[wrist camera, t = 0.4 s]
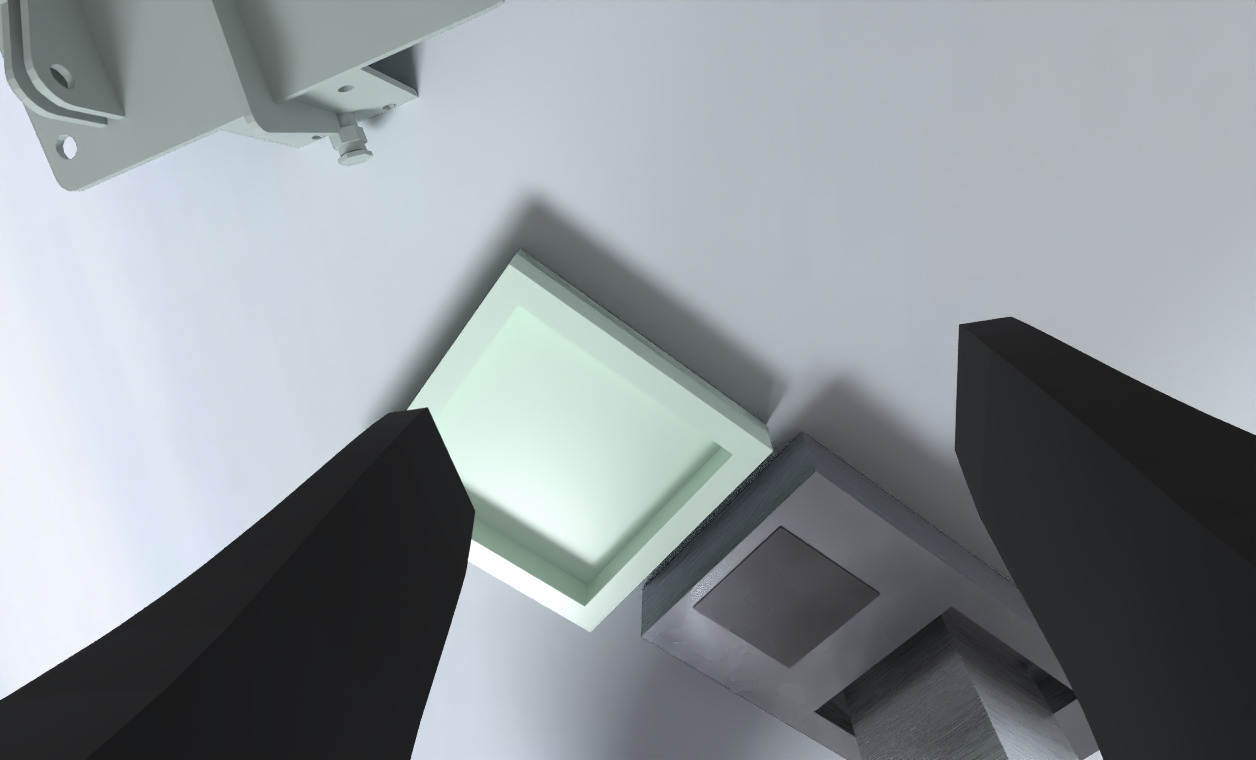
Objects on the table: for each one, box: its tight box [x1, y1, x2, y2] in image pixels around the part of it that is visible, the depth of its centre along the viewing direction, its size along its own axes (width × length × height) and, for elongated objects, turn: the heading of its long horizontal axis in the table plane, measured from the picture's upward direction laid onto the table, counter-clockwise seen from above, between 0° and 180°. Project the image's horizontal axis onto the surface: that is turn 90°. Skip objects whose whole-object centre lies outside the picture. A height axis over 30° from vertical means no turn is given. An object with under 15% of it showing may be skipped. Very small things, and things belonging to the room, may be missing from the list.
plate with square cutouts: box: [641, 432, 1099, 760], centre depth 24 cm, size 8×15×2 cm, turn 53°
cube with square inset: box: [843, 612, 1079, 760], centre depth 22 cm, size 4×4×6 cm
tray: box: [407, 249, 773, 632], centre depth 22 cm, size 9×9×2 cm
